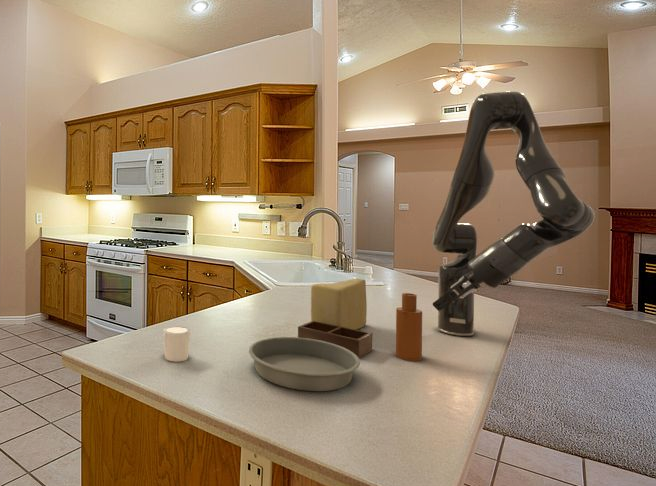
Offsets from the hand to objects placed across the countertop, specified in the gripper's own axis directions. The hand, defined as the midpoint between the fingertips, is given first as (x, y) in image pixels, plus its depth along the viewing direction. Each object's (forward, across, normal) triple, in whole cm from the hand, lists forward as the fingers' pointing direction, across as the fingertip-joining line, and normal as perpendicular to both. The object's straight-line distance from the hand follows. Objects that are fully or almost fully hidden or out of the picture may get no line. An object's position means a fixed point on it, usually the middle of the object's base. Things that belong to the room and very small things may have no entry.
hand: (440, 304), depth 110 cm
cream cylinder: (+45, +43, -24) cm, 66 cm away
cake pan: (+25, +29, -4) cm, 39 cm away
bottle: (+15, 0, +5) cm, 16 cm away
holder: (+27, +6, -7) cm, 29 cm away
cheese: (+31, -11, -10) cm, 34 cm away
